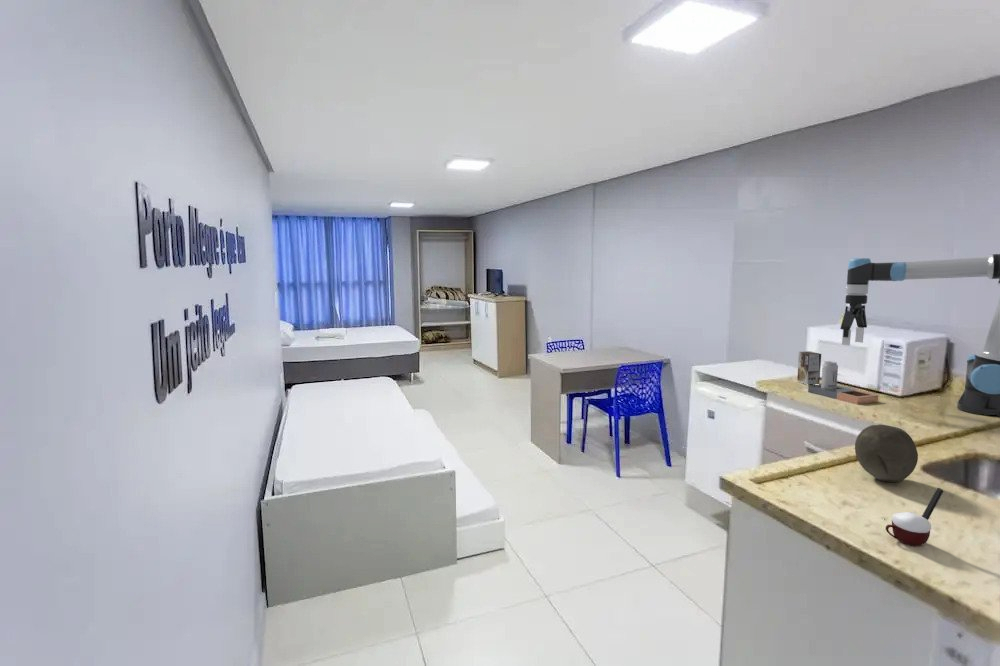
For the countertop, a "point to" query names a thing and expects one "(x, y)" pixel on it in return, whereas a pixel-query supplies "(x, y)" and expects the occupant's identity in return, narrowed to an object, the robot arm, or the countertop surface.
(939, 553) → the countertop surface
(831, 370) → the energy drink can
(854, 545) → the countertop surface
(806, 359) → the coffee box
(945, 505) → the countertop surface
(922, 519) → the cocoa
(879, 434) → the dark grey rounded lump
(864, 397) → the shallow tray
